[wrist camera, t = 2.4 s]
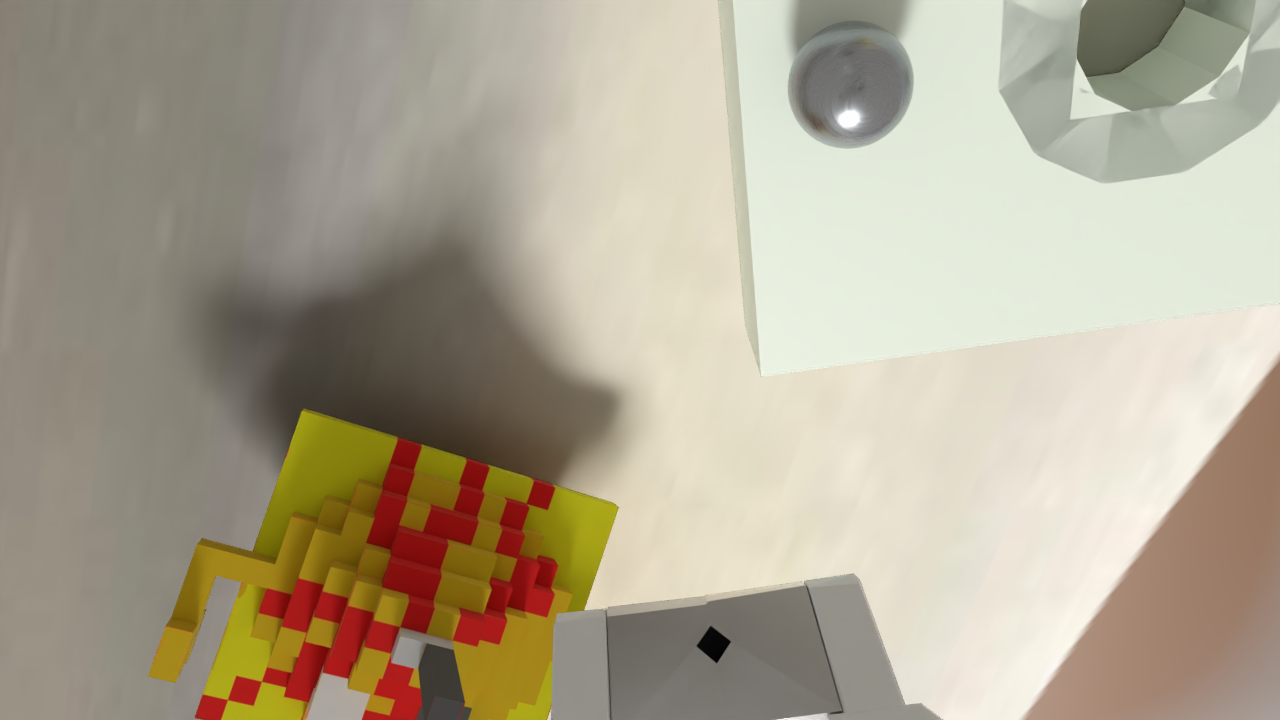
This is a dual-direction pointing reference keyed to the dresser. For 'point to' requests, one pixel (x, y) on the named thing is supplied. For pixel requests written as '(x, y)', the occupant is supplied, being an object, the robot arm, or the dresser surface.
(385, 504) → the toy
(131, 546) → the dresser surface
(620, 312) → the dresser surface
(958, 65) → the board
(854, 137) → the ball
